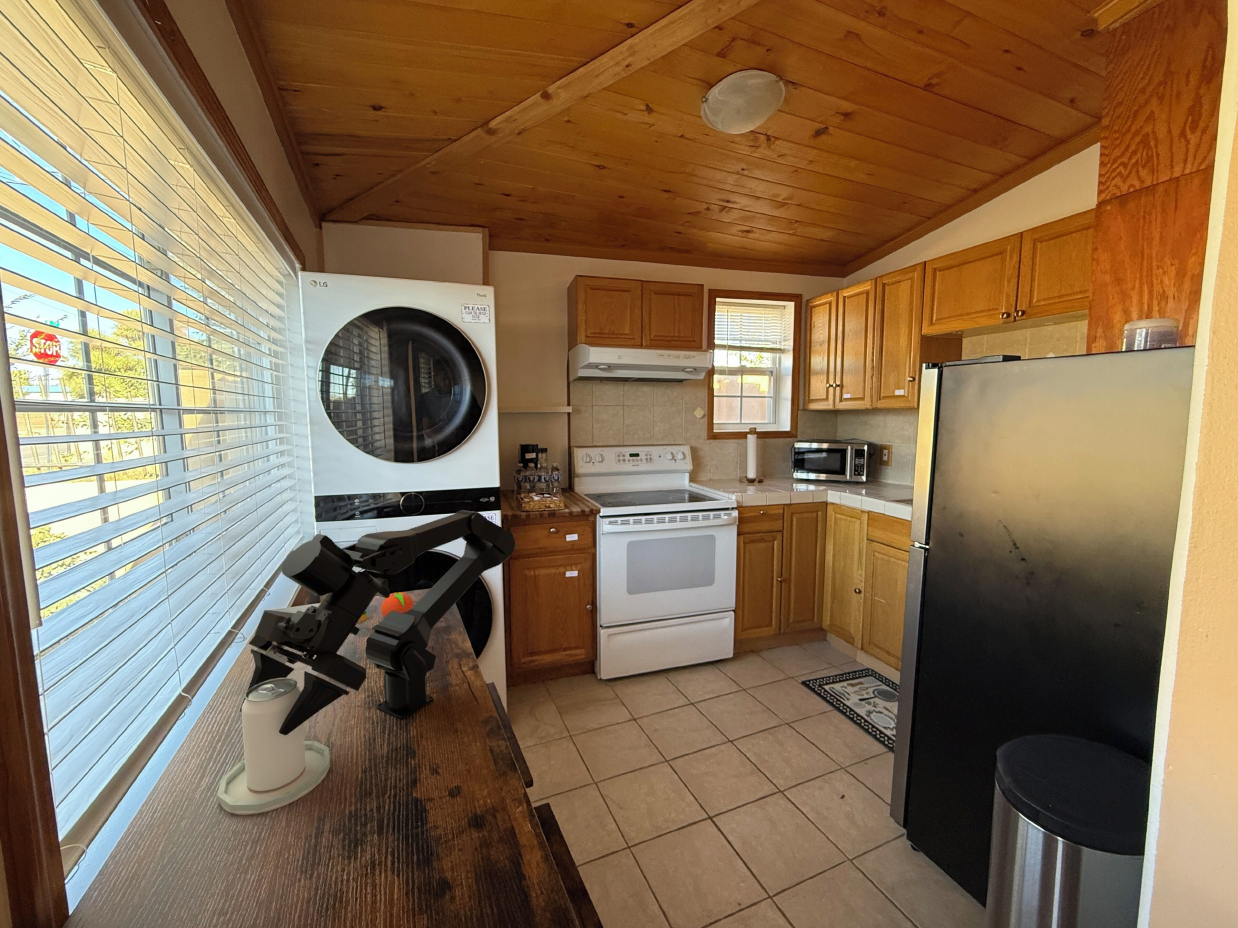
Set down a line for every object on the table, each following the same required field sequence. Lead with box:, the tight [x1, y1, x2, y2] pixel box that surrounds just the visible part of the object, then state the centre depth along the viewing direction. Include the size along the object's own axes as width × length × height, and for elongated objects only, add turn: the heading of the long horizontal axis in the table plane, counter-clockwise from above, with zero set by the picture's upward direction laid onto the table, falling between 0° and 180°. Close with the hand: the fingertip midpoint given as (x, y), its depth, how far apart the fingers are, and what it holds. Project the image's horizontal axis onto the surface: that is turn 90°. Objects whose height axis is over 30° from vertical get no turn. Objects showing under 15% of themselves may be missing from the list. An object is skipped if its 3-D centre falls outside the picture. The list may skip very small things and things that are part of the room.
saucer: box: [216, 740, 331, 816], centre depth 67 cm, size 12×12×1 cm
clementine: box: [380, 591, 415, 618], centre depth 118 cm, size 8×7×7 cm
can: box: [241, 677, 305, 792], centre depth 66 cm, size 6×6×12 cm
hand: (261, 723), depth 65 cm, fingers open, 9 cm apart
